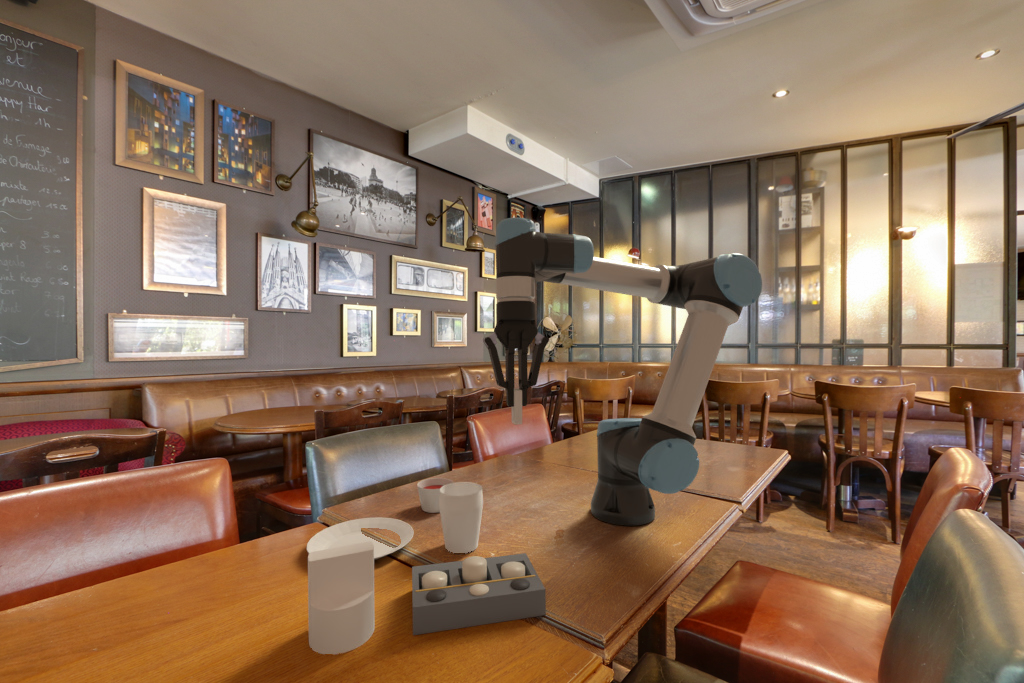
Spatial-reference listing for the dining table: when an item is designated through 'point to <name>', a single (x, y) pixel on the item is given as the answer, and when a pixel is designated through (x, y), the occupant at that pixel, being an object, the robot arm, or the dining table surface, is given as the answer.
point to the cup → (461, 515)
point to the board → (476, 596)
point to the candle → (431, 493)
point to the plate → (360, 535)
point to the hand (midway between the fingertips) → (516, 423)
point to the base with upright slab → (341, 598)
